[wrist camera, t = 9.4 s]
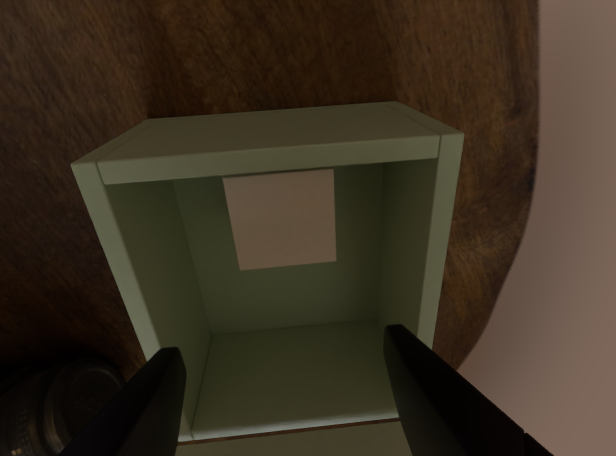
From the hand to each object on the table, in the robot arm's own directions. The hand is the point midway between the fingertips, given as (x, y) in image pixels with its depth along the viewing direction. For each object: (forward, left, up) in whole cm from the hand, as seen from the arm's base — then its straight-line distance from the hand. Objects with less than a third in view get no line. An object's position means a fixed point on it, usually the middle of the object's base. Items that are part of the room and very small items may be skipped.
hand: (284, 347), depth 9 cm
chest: (-2, +3, -12) cm, 12 cm away
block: (0, 0, -11) cm, 11 cm away
